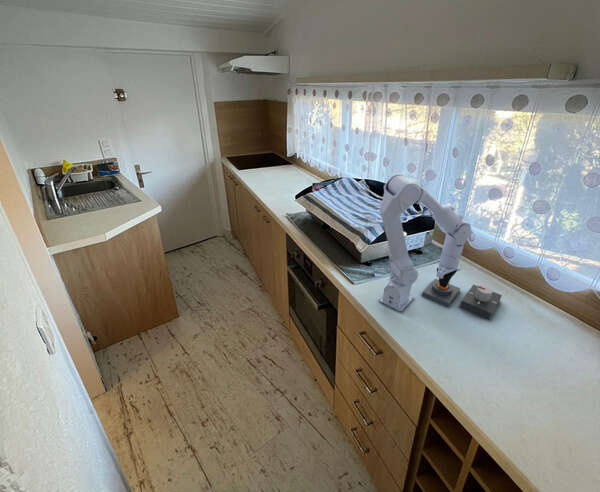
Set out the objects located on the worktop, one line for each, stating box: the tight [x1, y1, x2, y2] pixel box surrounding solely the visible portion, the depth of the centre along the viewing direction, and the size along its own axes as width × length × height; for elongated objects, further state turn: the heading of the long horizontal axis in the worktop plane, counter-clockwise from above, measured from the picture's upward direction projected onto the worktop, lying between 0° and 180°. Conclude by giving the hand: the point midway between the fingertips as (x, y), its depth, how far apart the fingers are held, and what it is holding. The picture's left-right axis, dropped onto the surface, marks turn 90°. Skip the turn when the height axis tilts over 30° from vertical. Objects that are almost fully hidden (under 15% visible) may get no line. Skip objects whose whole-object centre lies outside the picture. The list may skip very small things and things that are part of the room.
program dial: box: [475, 284, 494, 302], centre depth 101 cm, size 4×4×4 cm
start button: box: [437, 283, 448, 290], centre depth 108 cm, size 4×4×2 cm
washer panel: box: [459, 284, 502, 321], centre depth 103 cm, size 12×9×3 cm
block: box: [421, 277, 461, 308], centre depth 108 cm, size 11×9×4 cm
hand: (442, 285), depth 107 cm, fingers closed, pressing on start button
